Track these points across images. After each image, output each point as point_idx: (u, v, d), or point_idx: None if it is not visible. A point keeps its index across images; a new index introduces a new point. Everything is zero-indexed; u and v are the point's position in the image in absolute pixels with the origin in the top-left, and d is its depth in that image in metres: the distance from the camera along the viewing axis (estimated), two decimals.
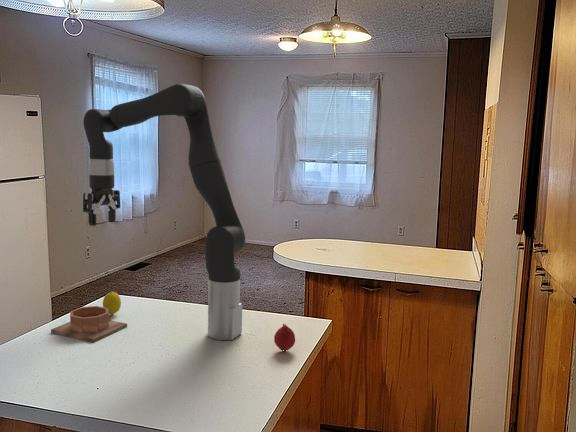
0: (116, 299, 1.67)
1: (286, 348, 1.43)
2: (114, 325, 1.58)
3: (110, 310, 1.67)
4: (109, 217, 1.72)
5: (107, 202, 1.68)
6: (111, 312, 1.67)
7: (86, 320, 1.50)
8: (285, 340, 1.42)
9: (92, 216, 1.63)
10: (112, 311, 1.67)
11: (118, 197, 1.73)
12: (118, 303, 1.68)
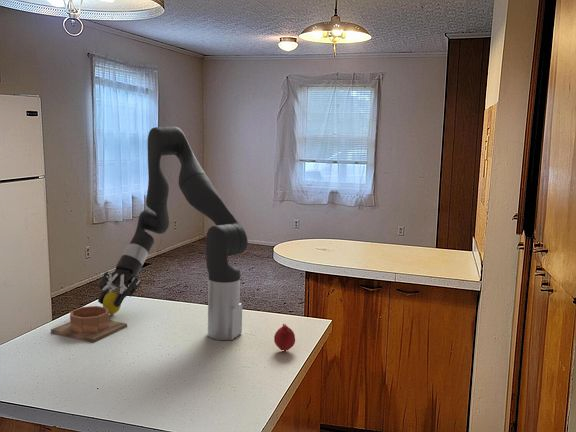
0: None
1: (286, 348, 1.43)
2: (114, 325, 1.58)
3: (110, 310, 1.67)
4: None
5: (119, 282, 1.70)
6: (111, 312, 1.67)
7: (86, 320, 1.50)
8: (285, 340, 1.42)
9: (102, 293, 1.70)
10: (112, 311, 1.67)
11: (132, 283, 1.68)
12: None
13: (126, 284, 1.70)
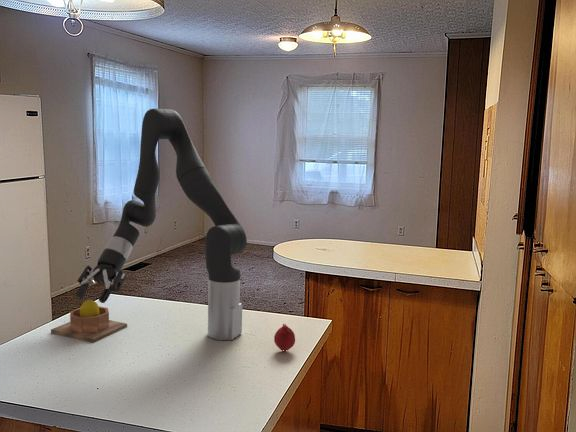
0: (94, 308, 1.54)
1: (286, 348, 1.43)
2: (114, 325, 1.58)
3: None
4: None
5: (102, 278, 1.58)
6: None
7: (86, 320, 1.50)
8: (286, 340, 1.42)
9: None
10: None
11: (117, 277, 1.56)
12: (96, 312, 1.55)
13: (110, 279, 1.58)
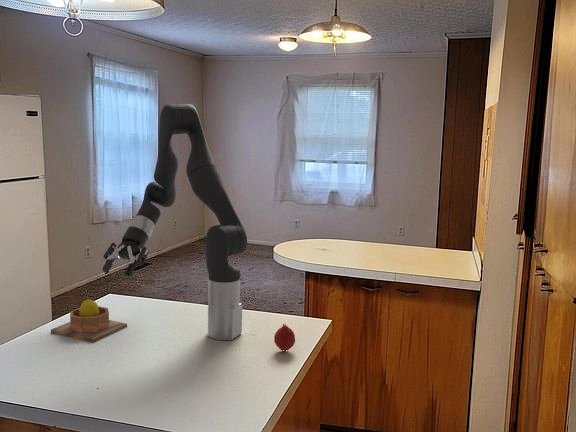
0: (93, 307, 1.54)
1: (286, 348, 1.43)
2: (114, 325, 1.58)
3: None
4: None
5: (127, 254, 1.67)
6: None
7: (86, 320, 1.50)
8: (285, 340, 1.42)
9: (106, 262, 1.68)
10: None
11: (141, 252, 1.66)
12: (96, 312, 1.55)
13: (134, 255, 1.68)
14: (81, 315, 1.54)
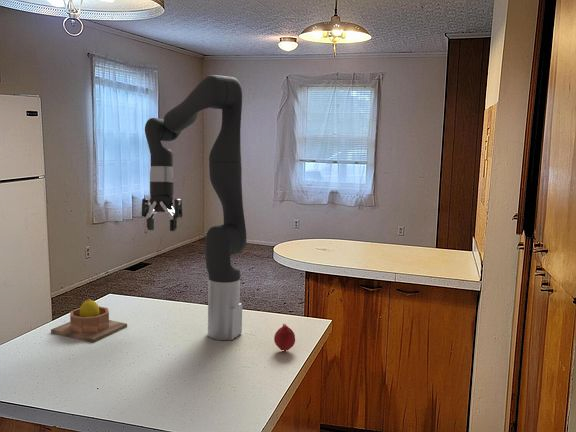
0: (94, 308, 1.54)
1: (286, 348, 1.43)
2: (114, 325, 1.58)
3: None
4: None
5: (162, 209, 1.69)
6: None
7: (86, 320, 1.50)
8: (286, 340, 1.42)
9: (147, 220, 1.72)
10: None
11: (175, 206, 1.67)
12: (96, 312, 1.55)
13: (169, 207, 1.69)
14: (81, 315, 1.53)
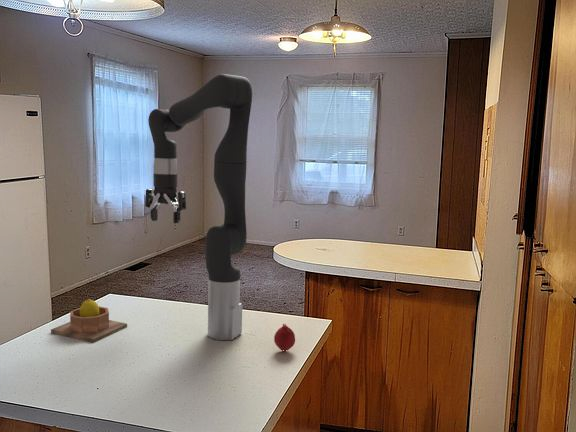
0: (94, 307, 1.54)
1: (286, 348, 1.43)
2: (114, 325, 1.58)
3: None
4: None
5: (166, 201, 1.69)
6: None
7: (86, 320, 1.50)
8: (286, 340, 1.42)
9: (151, 211, 1.72)
10: None
11: (179, 199, 1.67)
12: (96, 312, 1.55)
13: (173, 199, 1.69)
14: (81, 315, 1.54)
